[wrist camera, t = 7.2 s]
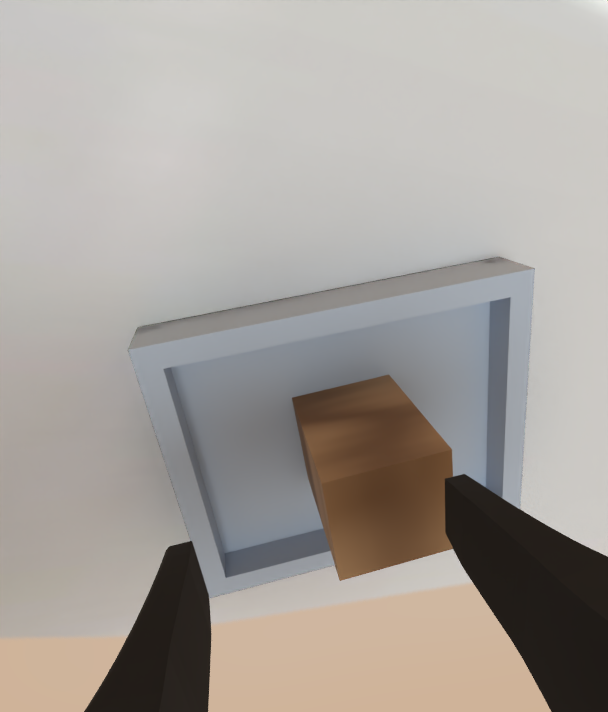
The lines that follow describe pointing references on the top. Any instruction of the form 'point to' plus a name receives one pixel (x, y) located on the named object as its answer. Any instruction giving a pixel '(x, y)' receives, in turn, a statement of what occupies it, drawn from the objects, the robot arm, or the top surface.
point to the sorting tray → (320, 372)
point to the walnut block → (374, 474)
